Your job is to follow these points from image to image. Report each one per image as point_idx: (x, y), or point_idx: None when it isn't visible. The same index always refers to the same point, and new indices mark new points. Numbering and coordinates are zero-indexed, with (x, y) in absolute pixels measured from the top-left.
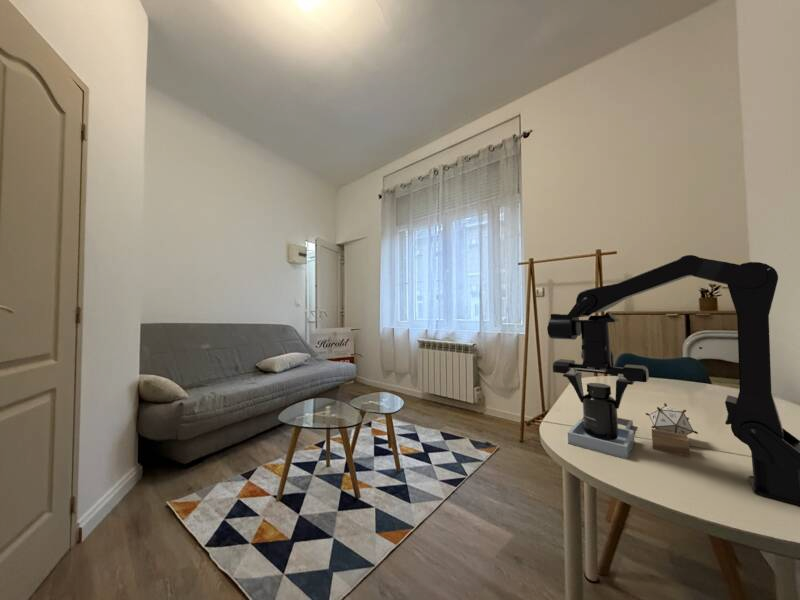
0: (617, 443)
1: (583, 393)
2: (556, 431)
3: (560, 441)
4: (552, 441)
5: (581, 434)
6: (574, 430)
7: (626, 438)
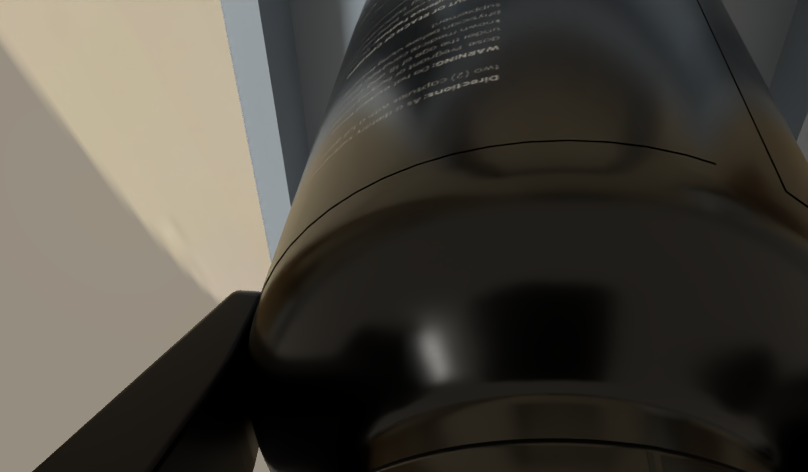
0: None
1: (205, 417)
2: (81, 3)
3: (236, 208)
4: (195, 241)
5: (324, 3)
6: (289, 172)
7: (804, 121)
